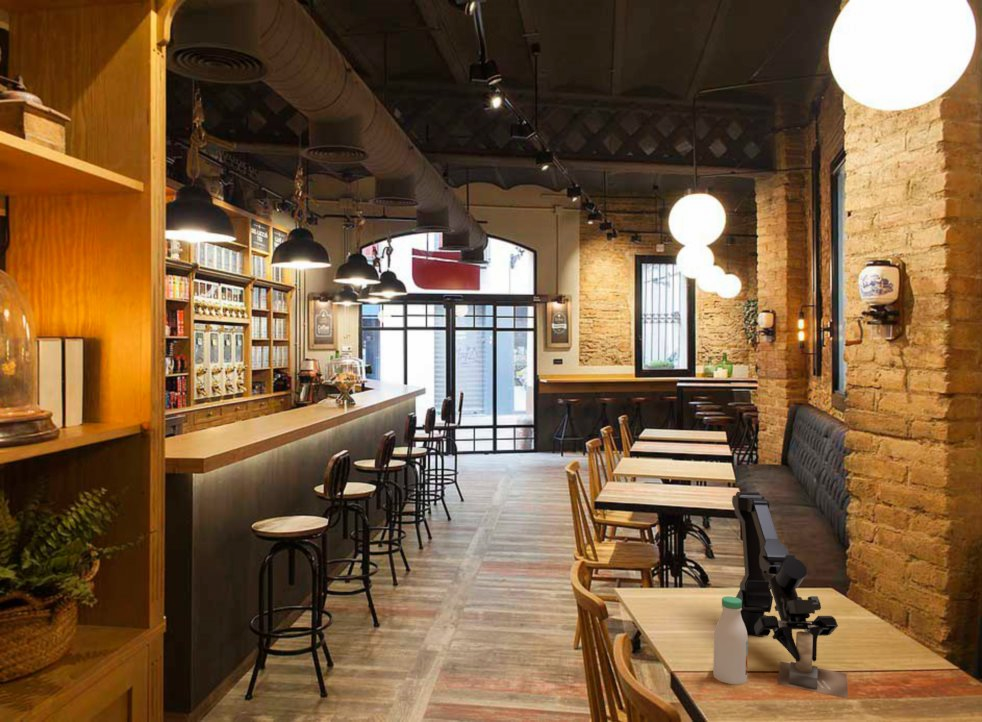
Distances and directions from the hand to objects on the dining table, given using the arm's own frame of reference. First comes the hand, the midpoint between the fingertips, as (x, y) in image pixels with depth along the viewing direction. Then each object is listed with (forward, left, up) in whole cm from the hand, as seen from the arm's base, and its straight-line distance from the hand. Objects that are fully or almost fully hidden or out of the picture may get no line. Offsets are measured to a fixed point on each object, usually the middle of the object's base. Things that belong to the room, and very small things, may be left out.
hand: (806, 660), depth 169 cm
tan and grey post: (-1, +1, -5) cm, 5 cm away
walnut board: (+1, +3, -6) cm, 7 cm away
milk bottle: (-17, -5, -7) cm, 19 cm away
